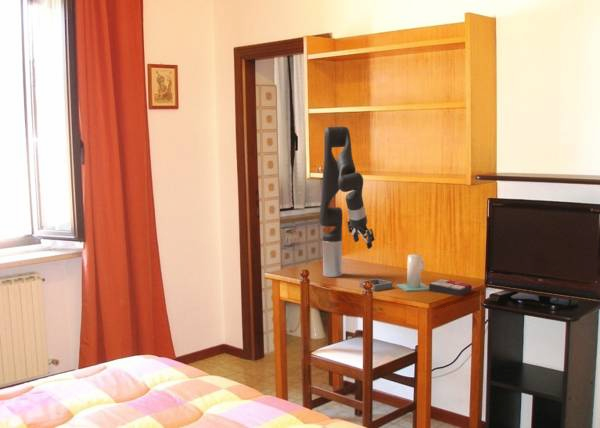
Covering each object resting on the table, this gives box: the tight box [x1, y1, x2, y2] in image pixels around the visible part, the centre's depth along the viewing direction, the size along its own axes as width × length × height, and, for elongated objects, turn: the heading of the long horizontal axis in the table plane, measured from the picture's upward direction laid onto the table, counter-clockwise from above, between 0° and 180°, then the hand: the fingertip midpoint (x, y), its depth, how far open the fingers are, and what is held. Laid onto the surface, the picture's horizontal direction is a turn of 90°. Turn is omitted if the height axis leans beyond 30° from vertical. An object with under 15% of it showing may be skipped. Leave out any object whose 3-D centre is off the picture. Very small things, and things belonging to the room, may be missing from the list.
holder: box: [359, 278, 394, 292], centre depth 308 cm, size 10×10×2 cm
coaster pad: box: [395, 282, 429, 292], centre depth 307 cm, size 12×12×1 cm
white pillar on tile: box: [406, 253, 425, 288], centre depth 306 cm, size 8×6×14 cm
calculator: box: [428, 278, 473, 297], centre depth 299 cm, size 11×4×15 cm
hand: (363, 244), depth 304 cm, fingers open, 8 cm apart
